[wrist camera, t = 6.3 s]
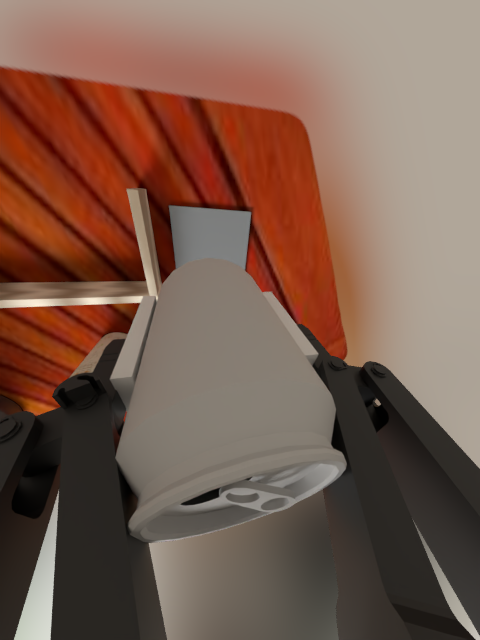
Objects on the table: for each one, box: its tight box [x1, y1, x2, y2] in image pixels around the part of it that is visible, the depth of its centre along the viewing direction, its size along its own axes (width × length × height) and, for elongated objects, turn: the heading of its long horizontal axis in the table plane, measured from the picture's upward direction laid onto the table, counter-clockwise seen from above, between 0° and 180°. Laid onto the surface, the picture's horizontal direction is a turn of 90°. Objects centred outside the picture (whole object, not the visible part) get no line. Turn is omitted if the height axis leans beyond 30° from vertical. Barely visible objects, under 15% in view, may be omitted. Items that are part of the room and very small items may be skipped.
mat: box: [169, 205, 251, 270], centre depth 28 cm, size 11×11×1 cm
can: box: [115, 258, 347, 543], centre depth 10 cm, size 8×8×12 cm
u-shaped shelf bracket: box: [0, 188, 162, 308], centre depth 22 cm, size 22×13×5 cm, turn 84°
